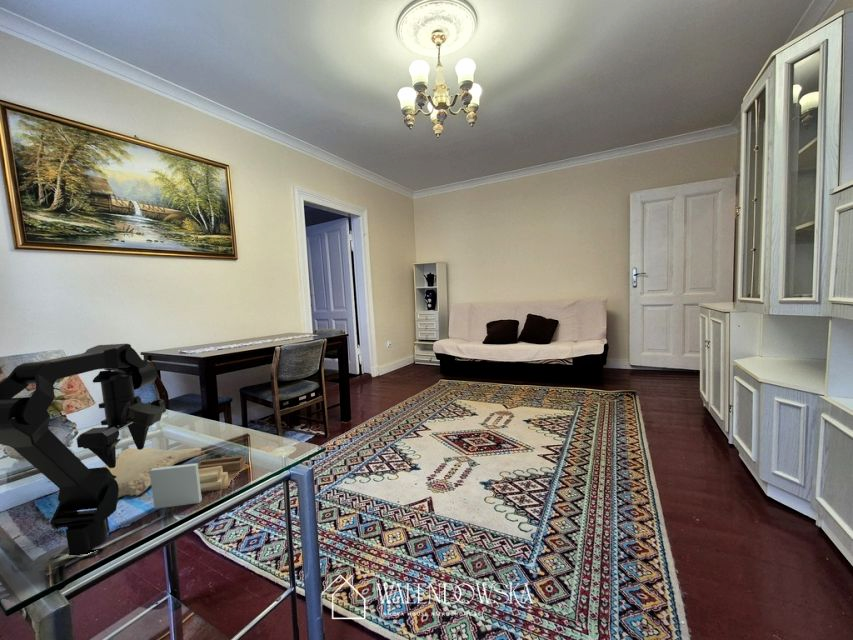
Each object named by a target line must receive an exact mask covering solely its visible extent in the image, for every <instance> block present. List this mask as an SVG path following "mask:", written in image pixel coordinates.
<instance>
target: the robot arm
mask: <svg viewBox="0 0 853 640" xmlns="http://www.w3.org/2000/svg"><path fill="white" fill-rule="evenodd" d="M96 370H100V371H99V372H98V374H97V375H95V377H93V379H92V382H93V383H96V384H97V383H100V388H101V395H102V396H101V397H102V402H100V403H98V409H103V410H104V418H105V419H103V420H100V425H101V426H103V427H92V428H91V429H88V430H86V431H84V432H81V433H80V434H79V435H78V436H77V437H76V445H77V448H83V449H84V450H85V449H86V450H87V449H88V450H90V451H91V452H92V453H93V454H94V455H96V456H97V457H98V458H99V460H101V461H102V462H103V463H104V464H105V465H107V466H108V467H109V468H115V467H116V457H117V451H116V445H117V444H119V442H120V441H121V438H119V437H120V431H121V430H123V429H124V428H128V431H129V433H130V435H131V437H132V438H131V439H132V440H133V442H134V446H135V447H136V449H138V450H141V449H143V448H145V443H146V439H147V436H148V432H149V429H150V427H151V426H153V425H154V424H156V423H157V422H160V421H161V419H162V416H163V414H164V413H165V412H167V409H166V403H165V400H164V399H161V398H156V399H154V400H153V401H152V402H147V403H145V402H142V399H141V398H142V397H140V395H137V396H136V395H135V390H137V389H141V388H143V387H145V386H147V385H150V384H151V383H154V381H156V380H157V377H158V370H157V369H156V368H155V367H154V366H153V365H152V364H150V363H148V359H147V358H145V359H142V358H141V356H140V355H139V354H138V352H137V351H136V350H135V349H134V348H132V345H131V344H129V343H112V344H98V345H95V346H93V347H90V348H88V349H86V351H84V352H82V353H78V354H74V355H68V356H62V357H56V358H51V359H47V360H39V361H33V362H32V361H31V362H29V361H28V362H24V363H21V364H19V365H17V366H16V367H15V368H13V369H12V371H11V372H10V374H9V375H8V376H7V377H5V378H4V379H3V380H1V381H0V445H3V446H7V447H10V448H12V449H13V450H14V451H16V452H17V453H18V454H19V455H20V456H21V457H23V458H24V460H26V461H27V462H28V463H29V464H30V465H31V466H33V468H36V470H38V471H39V472H40V473H41V474H42V475H44V476H45V477H46V478H47V479H48V480H49V481H51V483H53V484H54V485H55V486H56V487H57V488H58V492H57V497H56V498H57V500H58V502H59V504H58V506H57V508H56V509H55V512H54V514H53V516H52V517H51V520H50V521H49V523H50V525H51V527H52V528H53V529H54V530H56V529H61V528H62V529H63V528H66V529H65V535H66V541H67V549H68V553H69V555H80V554H88V553H90V552H94V551H96V550H100V549H101V548H102V547H101V548H96V547H98V546H100V545H102V544H104V542H106V541H107V539H108V538H109V534H108V533H109V532H110V526H109V517H110V516H111V515H112V514H114V513H115V512H116V511H117V509H118V508H117V507H118V500H119V498H118V492H119V487H118V483H117V481H116V480H115V478H116V476H114V475H113V474H111V472H110V470H109V469H108V468H106V467H104V466H102V467H100V466H99V467H92V468H91V467H90V468H89V467H87V466H86V464H84V463H83V461H81V460H80V459H79V457H78V456H76V454H74V453H73V452H72V450H71V449H70V448H68V447H67V446H66V445H65V444H64V443H63V441H61V440H60V439H59V437H58V436H57V435H56V434H54V432H52V431H51V429H49V424H50V420H51V415H50V413H49V411H48V409H49V408H50V406H51V404H52V403H53V402H54V399H55V389H54V385H55V383H56V381H58V380H60V379H64V378H68V377H72V376H76V375H80V374H84V373H88V372H93V371H96ZM34 384H35V390H34V392H33V393H32V394H31V395H30V396H26V397H25V396H24V397H15V396H17V395H18V394H19V393H21V392H22V391H24V390H25V389H26V388H27V387H28V386H29V385H34Z"/></svg>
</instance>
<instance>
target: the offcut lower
mask: <svg viewBox="0 0 853 640" xmlns="http://www.w3.org/2000/svg"><path fill="white" fill-rule="evenodd" d="M227 480H228V472H223V473H222V475H221V476H220V478H219V480H218V481H215V482H209V483H203V484H200V488H201V491H204V492H208V491H207V490H212V491H216V490H215V489H219V490H222V489H221V488H222V487H223V486H224V484H225V483H226V481H227Z"/></svg>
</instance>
